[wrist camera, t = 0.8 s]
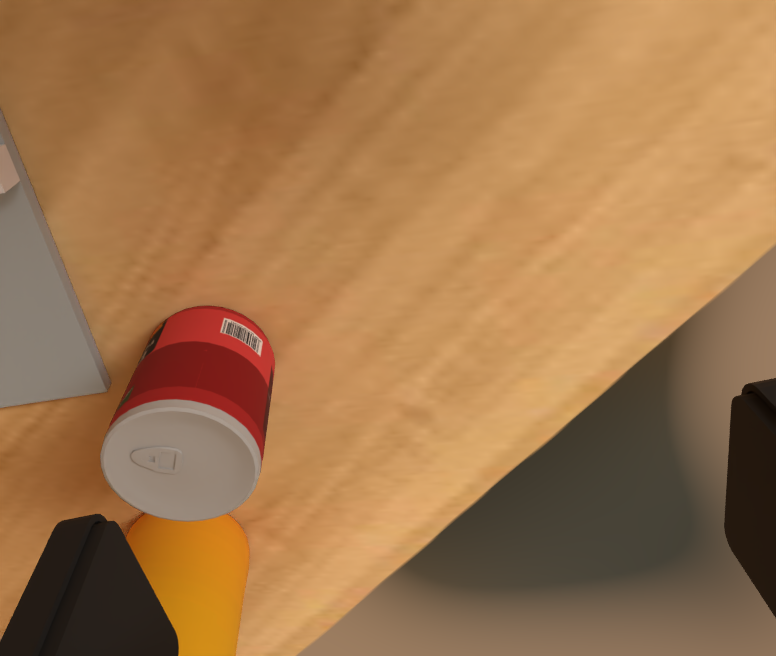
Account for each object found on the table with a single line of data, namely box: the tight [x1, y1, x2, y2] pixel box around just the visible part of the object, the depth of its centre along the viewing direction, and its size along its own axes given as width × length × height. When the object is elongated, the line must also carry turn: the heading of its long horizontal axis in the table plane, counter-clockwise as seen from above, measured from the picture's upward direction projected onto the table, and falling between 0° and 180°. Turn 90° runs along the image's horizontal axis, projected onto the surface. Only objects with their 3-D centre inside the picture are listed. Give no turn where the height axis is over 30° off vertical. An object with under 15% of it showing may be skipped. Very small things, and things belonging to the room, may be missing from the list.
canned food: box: [100, 306, 275, 522], centre depth 40 cm, size 8×8×11 cm
